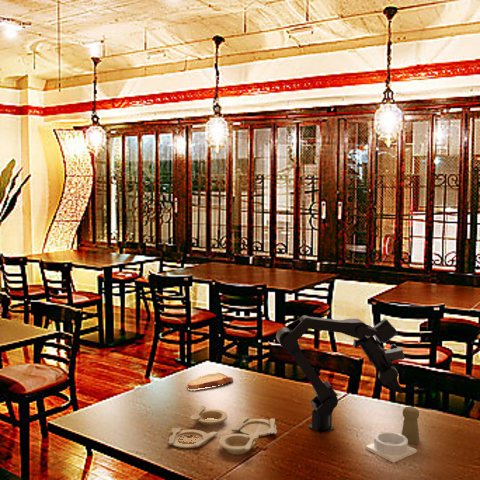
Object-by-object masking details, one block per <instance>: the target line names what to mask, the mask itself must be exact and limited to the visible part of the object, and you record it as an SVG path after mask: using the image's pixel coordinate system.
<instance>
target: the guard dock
mask: <svg viewBox="0 0 480 480" xmlns="http://www.w3.org/2000/svg"><path fill="white" fill-rule="evenodd" d="M373 439H374V440H373V442H372V443H370V444H367V445H366V446H365V450H366V451H369V452H371V453H373V454H375V455H377V456H379V457H381V458H384V459H385V460H388V461H390V462H392V463H393V464H394V463H395V462H398V461H400V460H402V459H405V458H408V457H409V456H411V455H414V454H416V453H417V449H416V448H414V447H412V446H410V445H409V444H408V439H407V438H406V437H405V436H404V435H402V433H399V432H394V431H380V432H378V433H375V435H374V437H373Z"/></svg>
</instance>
